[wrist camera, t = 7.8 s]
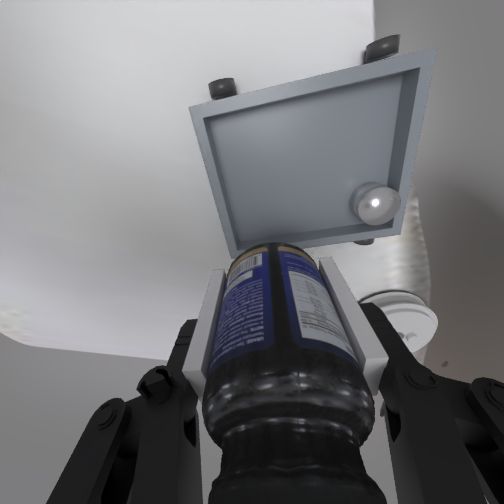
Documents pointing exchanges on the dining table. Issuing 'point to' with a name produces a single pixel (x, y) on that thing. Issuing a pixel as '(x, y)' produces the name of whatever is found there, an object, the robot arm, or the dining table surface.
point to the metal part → (375, 203)
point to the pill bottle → (285, 388)
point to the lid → (407, 317)
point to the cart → (314, 149)
